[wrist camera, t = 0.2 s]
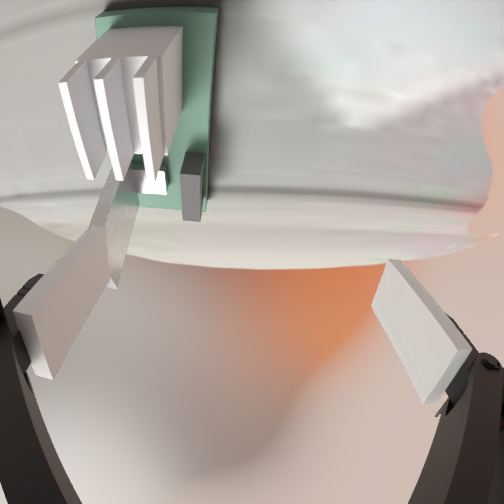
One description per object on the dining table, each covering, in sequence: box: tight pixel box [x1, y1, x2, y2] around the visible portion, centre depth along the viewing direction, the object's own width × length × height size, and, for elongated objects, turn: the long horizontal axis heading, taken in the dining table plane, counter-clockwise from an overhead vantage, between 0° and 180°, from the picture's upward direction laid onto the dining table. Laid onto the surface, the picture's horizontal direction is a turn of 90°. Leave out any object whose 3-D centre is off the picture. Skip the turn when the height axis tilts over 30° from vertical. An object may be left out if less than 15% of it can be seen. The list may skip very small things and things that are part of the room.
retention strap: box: [88, 162, 169, 289], centre depth 25 cm, size 6×4×10 cm, turn 173°
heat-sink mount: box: [58, 7, 219, 222], centre depth 22 cm, size 20×8×9 cm, turn 173°
